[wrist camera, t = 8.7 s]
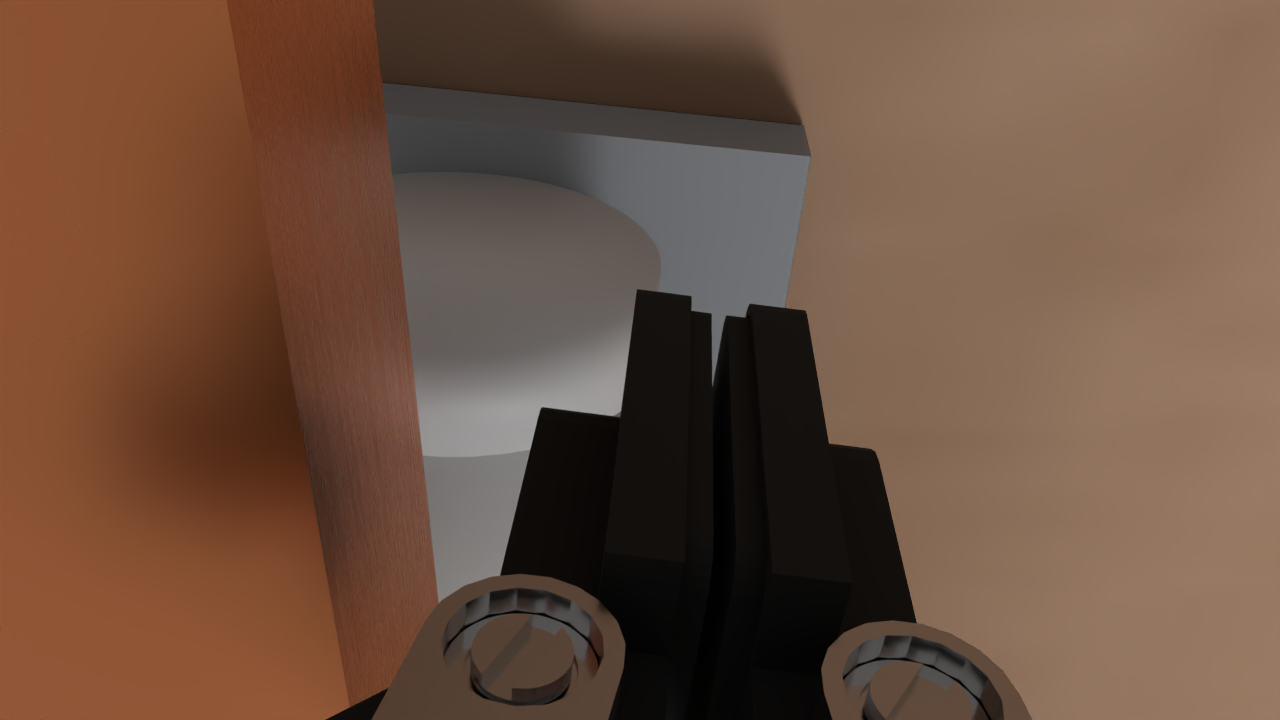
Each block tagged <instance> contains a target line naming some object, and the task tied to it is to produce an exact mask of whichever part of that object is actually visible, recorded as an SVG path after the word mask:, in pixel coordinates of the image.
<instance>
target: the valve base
mask: <svg viewBox="0 0 1280 720" xmlns="http://www.w3.org/2000/svg"><path fill="white" fill-rule="evenodd" d="M382 88H383V97H384V106H385V115H386V124H387V133H388V143H389V152H390V161H391V170H392V179H393V188H394V198H395V207H396V216H397V225H398V234H399V243H400V253H401V262H402V271H403V280H404V289H405V298H406V308H407V317H408V326H409V335H410V344H411V353H412V363H413V372H414V381H415V390H416V399H417V408H418V418H419V427H420V436H421V445H422V454H423V463H424V473H425V482H426V491H427V500H428V509H429V518H430V528H431V537H432V546H433V555H434V564H435V573H436V583H437V592H438V601H439V603H440V601H441V600H443V599H444V598H446V597H447V596H449V595H450V594H452V593H454V592H455V591H457V590H458V589H460V588H461V587H463V586H465V585H468V584H471V583H474V582H477V581H480V580H483V579H486V578H489V577H493V576H500V573H501V569H502V565H503V561H504V556H505V552H506V548H507V544H508V540H509V536H510V532H511V527H512V523H513V519H514V515H515V511H516V507H517V503H518V498H519V494H520V490H521V486H522V482H523V478H524V474H525V469H526V465H527V461H528V457H529V453H530V449H531V445H532V440H533V436H534V432H535V428H536V424H537V420H538V416H539V413H540V409H541V408H542V407H545V408H553V409H561V410H569V411H577V412H585V413H592V414H600V415H608V416H616V417H620V414H621V406H622V399H623V391H624V384H625V376H626V368H627V361H628V353H629V345H630V338H631V330H632V322H633V315H634V307H635V299H636V292H637V289H641V290H649V291H656V292H664V293H672V294H679V295H687V296H692V309H691V311H697V312H705V313H711V314H712V386H713V381H714V375H715V369H716V364H717V358H718V352H719V347H720V341H721V335H722V330H723V325H724V321H725V317H726V315H729V316H737V317H744V318H745V315H746V312H747V308H748V306H749V304H757V305H765V306H773V307H781V308H785V303H786V297H787V292H788V286H789V280H790V275H791V269H792V263H793V257H794V252H795V246H796V240H797V235H798V229H799V223H800V217H801V212H802V206H803V200H804V195H805V189H806V183H807V177H808V172H809V166H810V160H811V154H810V150H809V146H808V141H807V137H806V133H805V129H804V125H794V124H784V123H774V122H764V121H755V120H745V119H735V118H725V117H715V116H705V115H696V114H686V113H676V112H666V111H656V110H646V109H636V108H627V107H617V106H607V105H597V104H587V103H577V102H567V101H558V100H548V99H538V98H528V97H518V96H508V95H499V94H489V93H479V92H469V91H459V90H449V89H439V88H430V87H420V86H410V85H400V84H390V83H382Z"/></svg>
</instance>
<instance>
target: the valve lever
mask: <svg viewBox="0 0 1280 720" xmlns="http://www.w3.org/2000/svg"><path fill="white" fill-rule="evenodd" d="M438 604H439V601H438V592H437V583H436V573H435V564H434V555H433V546H432V537H431V528H430V518H429V509H428V500H427V491H426V482H425V473H424V463H423V454H422V445H421V436H420V427H419V418H418V408H417V399H416V390H415V381H414V372H413V363H412V353H411V344H410V335H409V326H408V317H407V308H406V298H405V289H404V280H403V271H402V262H401V253H400V243H399V234H398V225H397V216H396V207H395V198H394V188H393V179H392V170H391V161H390V152H389V143H388V133H387V124H386V115H385V106H384V97H383V88H382V78H381V69H380V60H379V51H378V42H377V33H376V23H375V14H374V5H373V0H0V720H326V719H328V718H330V717H332V716H334V715H336V714H338V713H340V712H341V711H343V710H345V709H347V708H349V707H351V706H353V705H355V704H357V703H359V702H361V701H363V700H365V699H367V698H369V697H371V696H373V695H375V694H377V693H379V692H381V691H383V690H385V689H387V688H389V687H390V685H391V683H392V681H393V679H394V677H395V675H396V674H397V672H398V670H399V668H400V666H401V664H402V663H403V661H404V659H405V657H406V655H407V653H408V651H409V650H410V648H411V646H412V644H413V642H414V640H415V639H416V637H417V635H418V633H419V631H420V629H421V627H422V626H423V624H424V622H425V620H426V619H427V618H428V616H429V615H430V614H431V613H432V611H433V610H434V609H435V608H436V606H437V605H438Z"/></svg>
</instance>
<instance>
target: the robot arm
mask: <svg viewBox="0 0 1280 720" xmlns="http://www.w3.org/2000/svg"><path fill="white" fill-rule="evenodd" d="M691 309H692V296H687V295H679V294H672V293H664V292H656V291H649V290H641V289H637V292H636V299H635V307H634V315H633V322H632V330H631V338H630V345H629V353H628V361H627V368H626V376H625V384H624V391H623V399H622V406H621V414H620V417H616V416H608V415H600V414H592V413H585V412H577V411H569V410H561V409H553V408H545V407H542V408H541V409H540V413H539V416H538V420H537V424H536V428H535V432H534V436H533V440H532V445H531V449H530V453H529V457H528V461H527V465H526V469H525V474H524V478H523V482H522V486H521V490H520V494H519V498H518V503H517V507H516V511H515V515H514V519H513V523H512V527H511V532H510V536H509V540H508V544H507V548H506V552H505V556H504V561H503V565H502V569H501V573H500V576H493V577H489V578H486V579H483V580H480V581H477V582H474V583H471V584H468V585H465V586H463V587H461V588H460V589H458V590H457V591H455V592H454V593H452V594H450V595H449V596H447V597H446V598H444V599H443V600H441V601H440V603H439V604H438V605H437V606H436V608H435V609H434V610H433V611H432V613H431V614H430V615H429V616H428V618H427V619H426V620H425V622H424V624H423V626H422V627H421V629H420V631H419V633H418V635H417V637H416V639H415V640H414V642H413V644H412V646H411V648H410V650H409V651H408V653H407V655H406V657H405V659H404V661H403V663H402V664H401V666H400V668H399V670H398V672H397V674H396V675H395V677H394V679H393V681H392V683H391V685H390V687H389V688H387V689H385V690H383V691H381V692H379V693H377V694H375V695H373V696H371V697H369V698H367V699H365V700H363V701H361V702H359V703H357V704H355V705H353V706H351V707H349V708H347V709H345V710H343V711H341V712H340V713H338V714H336V715H334V716H332V717H330V718H328V719H326V720H1032V718H1031V716H1030V714H1029V712H1028V710H1027V708H1026V706H1025V704H1024V703H1023V701H1022V699H1021V697H1020V695H1019V693H1018V692H1017V690H1016V689H1015V687H1014V686H1013V684H1012V683H1011V682H1010V680H1009V679H1008V677H1007V676H1006V674H1005V673H1004V672H1003V670H1002V669H1000V668H999V667H998V666H997V665H996V664H995V663H994V662H992V661H991V660H990V659H989V658H988V657H987V656H986V655H985V654H983V653H982V652H981V651H980V650H978V649H977V648H975V647H973V646H972V645H970V644H968V643H966V642H965V641H963V640H961V639H959V638H958V637H956V636H954V635H952V634H950V633H947V632H944V631H941V630H938V629H935V628H932V627H929V626H926V625H923V624H917V622H916V618H915V614H914V610H913V605H912V601H911V597H910V592H909V588H908V584H907V580H906V575H905V571H904V567H903V562H902V558H901V554H900V550H899V545H898V541H897V537H896V532H895V528H894V524H893V520H892V515H891V511H890V507H889V502H888V498H887V494H886V490H885V485H884V481H883V477H882V472H881V468H880V464H879V460H878V458H877V455H876V452H875V451H873V450H872V449H867V448H859V447H851V446H844V445H836V444H829V442H828V436H827V430H826V424H825V418H824V412H823V407H822V401H821V395H820V389H819V383H818V377H817V371H816V365H815V359H814V354H813V348H812V342H811V336H810V330H809V324H808V318H807V314H806V311H804V310H796V309H788V308H781V307H773V306H765V305H757V304H749V306H748V308H747V312H746V315H745V318H744V317H737V316H729V315H726V317H725V321H724V325H723V330H722V335H721V341H720V347H719V352H718V358H717V364H716V369H715V375H714V381H713V386H712V314H711V313H705V312H697V311H691Z"/></svg>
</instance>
